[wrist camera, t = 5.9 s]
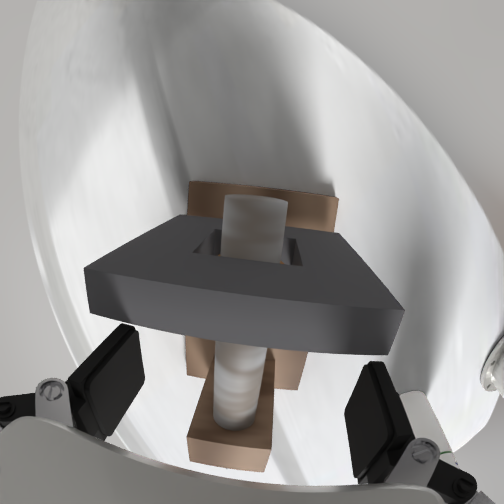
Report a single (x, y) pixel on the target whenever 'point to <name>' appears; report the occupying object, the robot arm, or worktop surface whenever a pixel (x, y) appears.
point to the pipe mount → (236, 355)
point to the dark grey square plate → (247, 290)
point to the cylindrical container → (426, 423)
